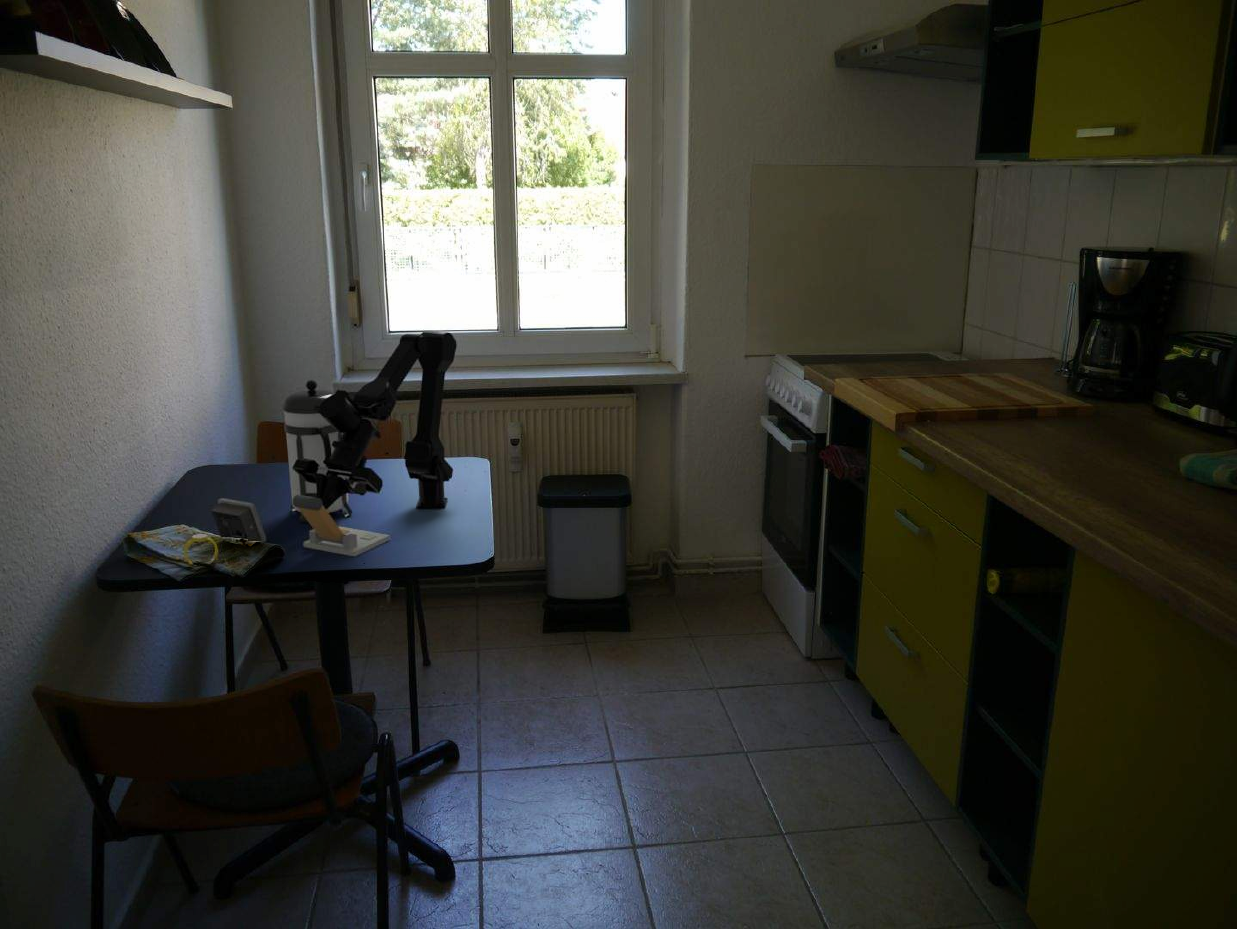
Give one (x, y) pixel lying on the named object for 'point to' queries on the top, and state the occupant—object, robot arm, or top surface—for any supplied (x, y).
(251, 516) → the electrical switch
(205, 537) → the watch
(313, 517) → the lever
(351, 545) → the switch base
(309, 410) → the coffee press
